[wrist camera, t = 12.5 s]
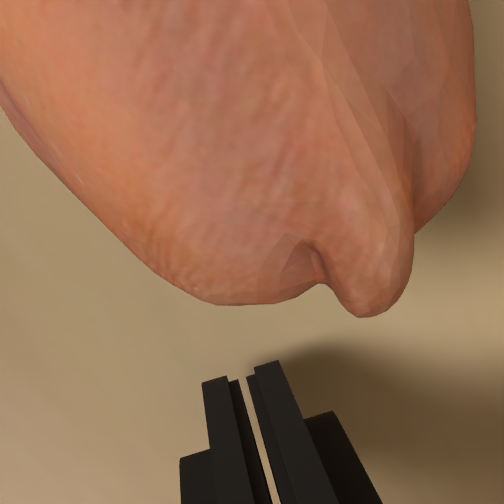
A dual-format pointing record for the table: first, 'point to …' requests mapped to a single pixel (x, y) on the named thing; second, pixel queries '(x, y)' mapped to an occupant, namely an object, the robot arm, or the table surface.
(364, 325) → the table surface
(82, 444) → the table surface
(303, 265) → the bull figurine
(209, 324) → the table surface
